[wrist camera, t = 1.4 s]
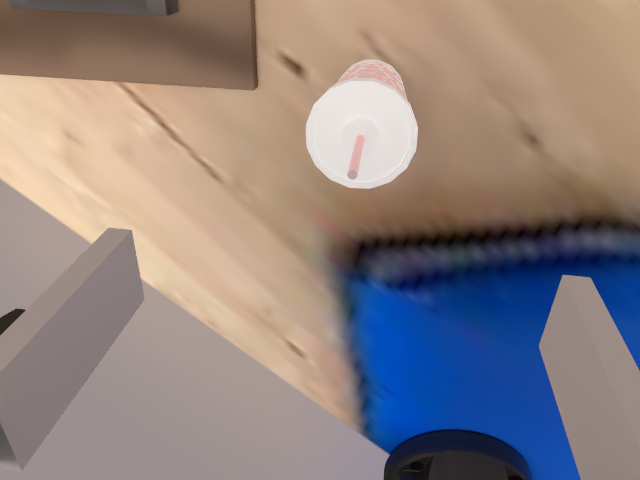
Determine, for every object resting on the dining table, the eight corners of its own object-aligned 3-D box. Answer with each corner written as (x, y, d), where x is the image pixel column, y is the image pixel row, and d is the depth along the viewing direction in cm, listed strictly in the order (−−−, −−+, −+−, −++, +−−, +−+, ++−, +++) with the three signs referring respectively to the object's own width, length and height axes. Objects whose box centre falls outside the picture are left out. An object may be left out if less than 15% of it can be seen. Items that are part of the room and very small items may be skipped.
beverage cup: (318, 56, 35) (271, 121, 23) (409, 38, 33) (411, 97, 21) (336, 142, 38) (303, 239, 26) (421, 128, 36) (427, 224, 24)
